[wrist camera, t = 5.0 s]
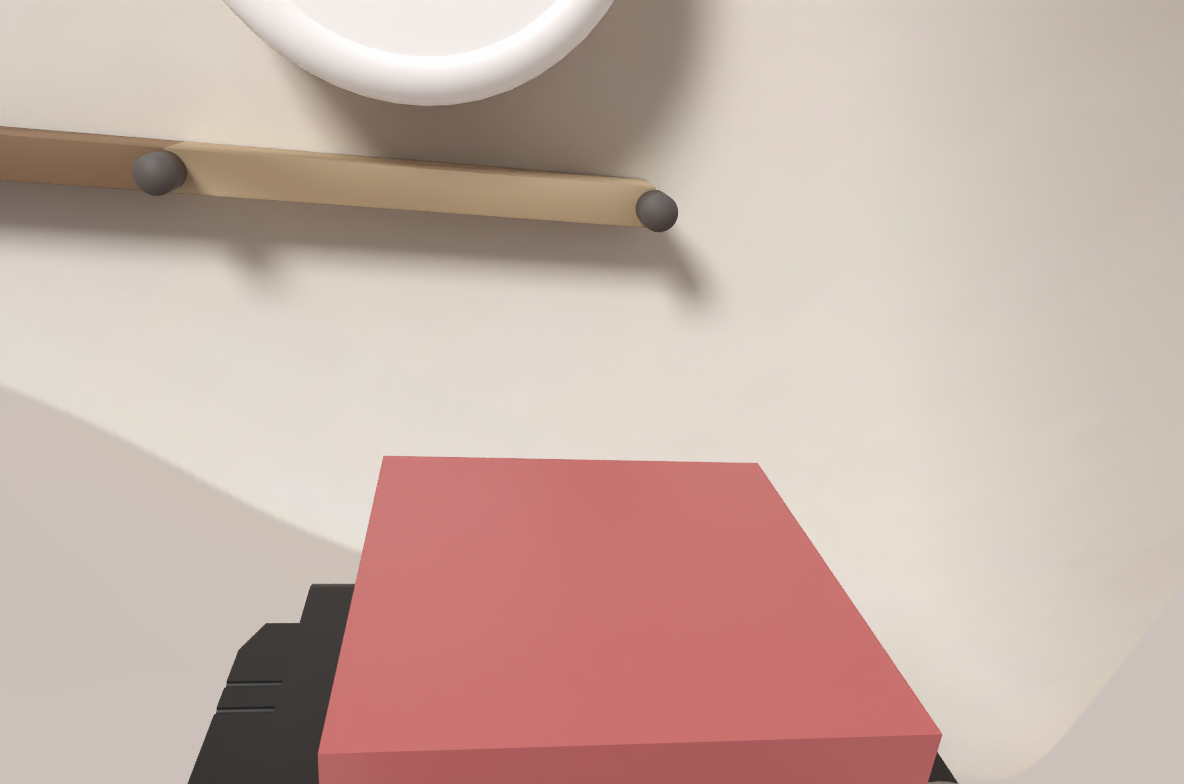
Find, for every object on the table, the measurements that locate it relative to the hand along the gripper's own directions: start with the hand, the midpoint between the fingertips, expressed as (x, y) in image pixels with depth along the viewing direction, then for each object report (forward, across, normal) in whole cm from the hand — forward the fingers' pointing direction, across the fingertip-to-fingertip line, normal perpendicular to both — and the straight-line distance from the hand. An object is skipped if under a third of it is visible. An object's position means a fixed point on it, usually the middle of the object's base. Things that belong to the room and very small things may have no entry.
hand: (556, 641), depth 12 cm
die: (+1, 0, 0) cm, 1 cm away
